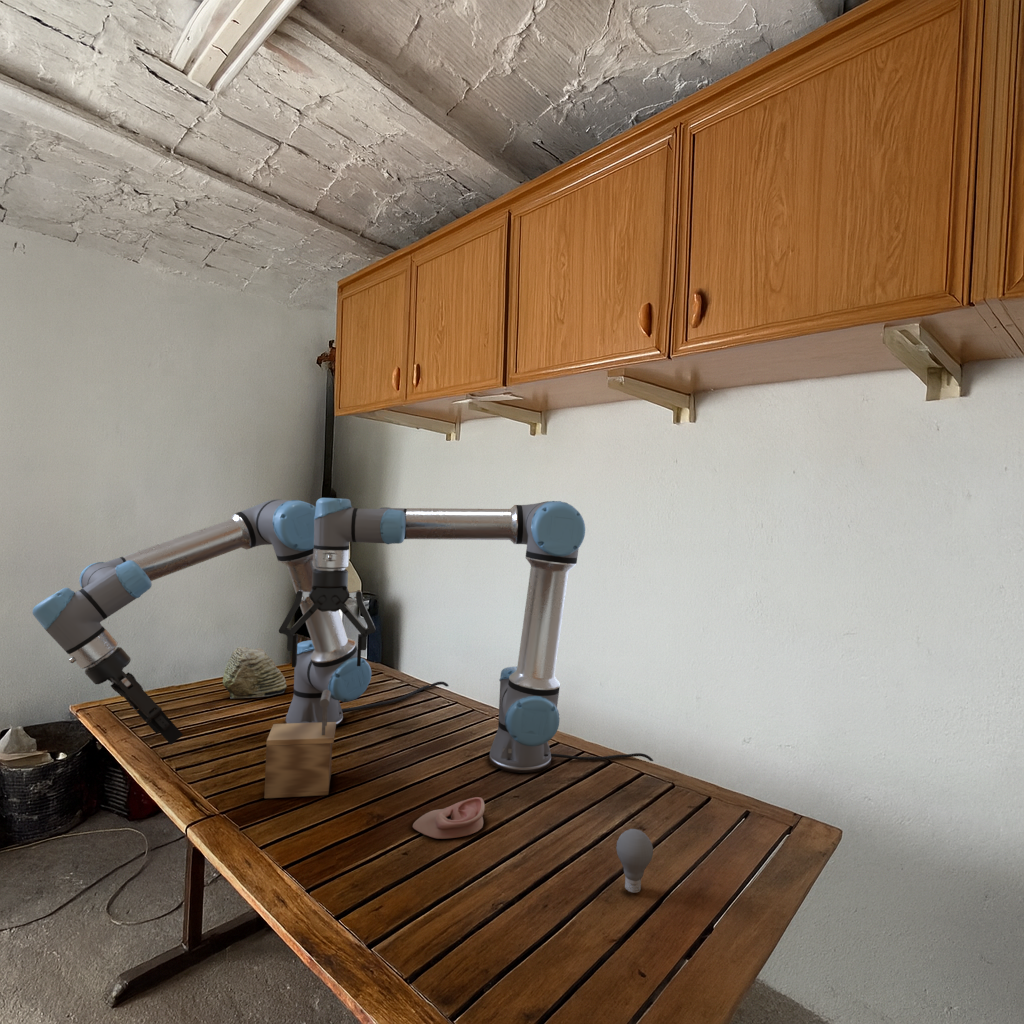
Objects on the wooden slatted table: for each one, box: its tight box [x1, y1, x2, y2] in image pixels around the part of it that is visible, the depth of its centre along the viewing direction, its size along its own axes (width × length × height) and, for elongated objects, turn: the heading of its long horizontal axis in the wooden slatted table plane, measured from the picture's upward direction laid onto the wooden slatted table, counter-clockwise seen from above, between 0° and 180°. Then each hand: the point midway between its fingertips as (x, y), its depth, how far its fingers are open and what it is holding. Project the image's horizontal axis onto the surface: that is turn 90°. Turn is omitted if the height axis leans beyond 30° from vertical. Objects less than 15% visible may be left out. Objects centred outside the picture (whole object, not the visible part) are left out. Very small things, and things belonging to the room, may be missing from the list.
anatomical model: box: [412, 796, 486, 840], centre depth 124 cm, size 13×4×12 cm
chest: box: [264, 743, 333, 799], centre depth 138 cm, size 13×10×11 cm
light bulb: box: [615, 828, 654, 894], centre depth 106 cm, size 6×6×10 cm
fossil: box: [222, 646, 288, 699], centre depth 198 cm, size 9×18×15 cm, turn 132°
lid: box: [266, 690, 337, 746], centre depth 138 cm, size 14×10×9 cm
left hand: (169, 734), depth 134 cm, fingers open, 13 cm apart
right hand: (326, 665), depth 139 cm, fingers open, 13 cm apart
